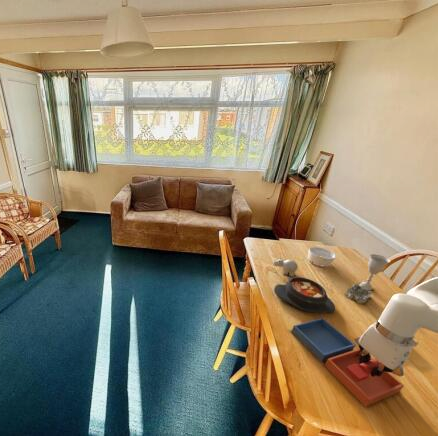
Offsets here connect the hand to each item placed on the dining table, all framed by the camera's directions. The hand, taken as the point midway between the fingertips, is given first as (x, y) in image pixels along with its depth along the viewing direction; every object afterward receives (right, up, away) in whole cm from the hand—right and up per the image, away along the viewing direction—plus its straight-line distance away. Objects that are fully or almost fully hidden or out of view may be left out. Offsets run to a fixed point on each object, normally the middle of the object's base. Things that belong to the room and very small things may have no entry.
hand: (368, 369), depth 77 cm
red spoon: (-2, -1, 0) cm, 2 cm away
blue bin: (-6, +2, +14) cm, 15 cm away
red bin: (-2, -4, +1) cm, 4 cm away
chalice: (+40, +15, +43) cm, 61 cm away
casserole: (+1, +11, +34) cm, 36 cm away
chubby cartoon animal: (+4, +20, +55) cm, 58 cm away
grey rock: (+30, +12, +37) cm, 49 cm away
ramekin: (+31, +24, +63) cm, 74 cm away
